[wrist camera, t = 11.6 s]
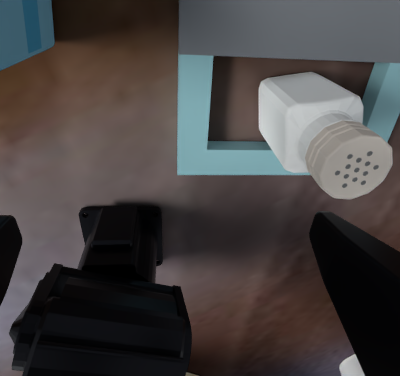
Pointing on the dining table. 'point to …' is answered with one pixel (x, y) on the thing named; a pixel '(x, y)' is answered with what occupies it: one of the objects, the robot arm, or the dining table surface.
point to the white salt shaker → (322, 134)
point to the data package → (24, 30)
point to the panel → (286, 49)
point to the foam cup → (351, 367)
